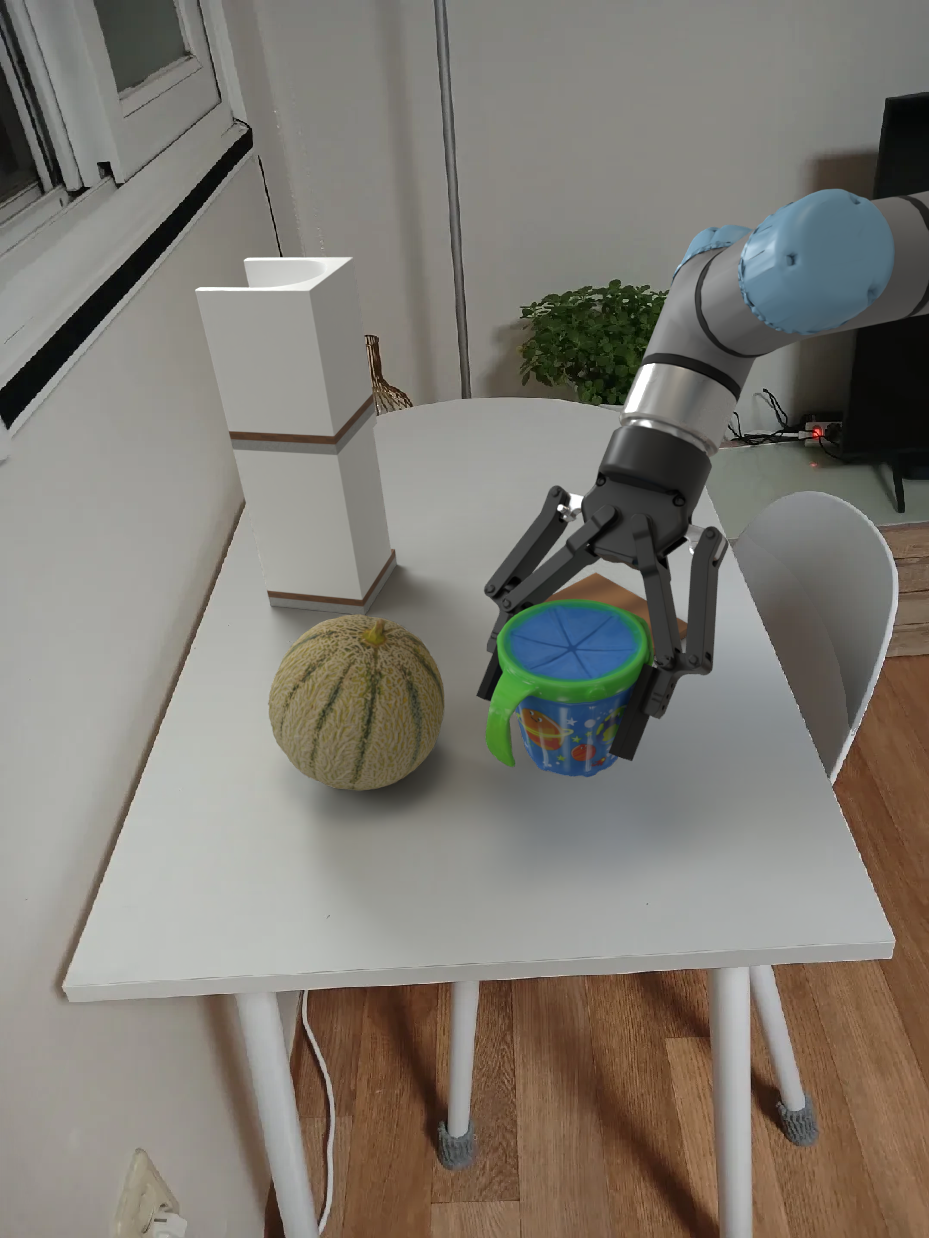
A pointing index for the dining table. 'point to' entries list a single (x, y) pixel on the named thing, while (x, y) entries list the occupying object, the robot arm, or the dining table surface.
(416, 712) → the cantaloupe
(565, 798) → the dining table surface
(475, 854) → the dining table surface
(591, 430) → the dining table surface
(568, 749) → the snack cup
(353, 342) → the striped white pillar
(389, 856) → the dining table surface
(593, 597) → the wooden board
